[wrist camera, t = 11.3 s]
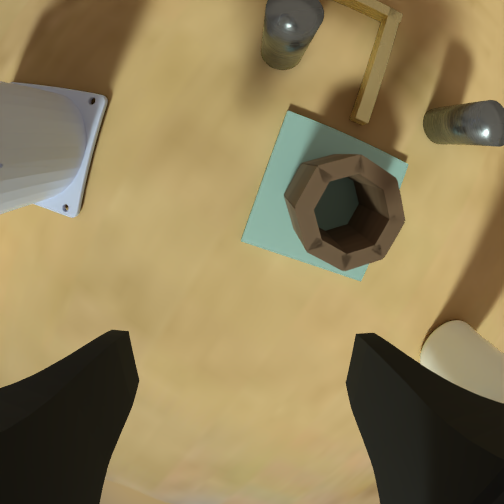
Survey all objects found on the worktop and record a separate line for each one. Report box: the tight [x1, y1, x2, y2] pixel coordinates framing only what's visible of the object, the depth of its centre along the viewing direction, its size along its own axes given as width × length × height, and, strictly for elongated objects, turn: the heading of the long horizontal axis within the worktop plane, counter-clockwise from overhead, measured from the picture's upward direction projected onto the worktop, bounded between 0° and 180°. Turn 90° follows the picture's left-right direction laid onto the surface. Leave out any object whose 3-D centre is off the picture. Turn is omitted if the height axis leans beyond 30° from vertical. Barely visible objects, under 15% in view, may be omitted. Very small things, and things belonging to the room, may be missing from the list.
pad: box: [241, 111, 408, 281], centre depth 18 cm, size 8×8×1 cm
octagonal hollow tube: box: [284, 154, 405, 271], centre depth 16 cm, size 5×5×4 cm
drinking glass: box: [420, 320, 504, 403], centre depth 15 cm, size 7×7×15 cm
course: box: [261, 0, 504, 146], centre depth 12 cm, size 14×15×6 cm
